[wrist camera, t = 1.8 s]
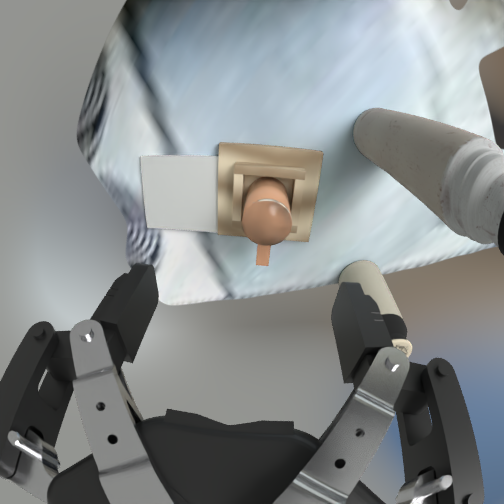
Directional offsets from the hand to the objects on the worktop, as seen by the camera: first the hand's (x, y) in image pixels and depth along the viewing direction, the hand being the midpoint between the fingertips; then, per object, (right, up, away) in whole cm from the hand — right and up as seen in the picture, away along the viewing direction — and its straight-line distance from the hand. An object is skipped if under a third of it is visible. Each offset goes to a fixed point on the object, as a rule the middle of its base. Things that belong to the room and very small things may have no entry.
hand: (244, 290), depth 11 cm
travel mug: (+20, -3, +35) cm, 40 cm away
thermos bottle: (+18, +18, +21) cm, 33 cm away
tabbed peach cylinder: (+2, +8, +28) cm, 29 cm away
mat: (-10, +10, +28) cm, 32 cm away
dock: (+3, +10, +27) cm, 29 cm away
